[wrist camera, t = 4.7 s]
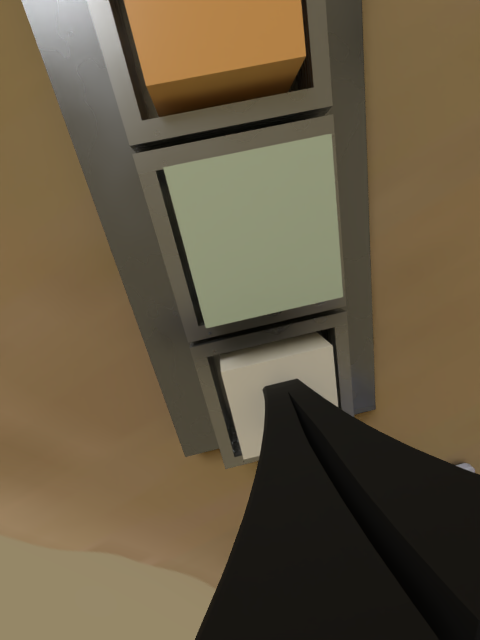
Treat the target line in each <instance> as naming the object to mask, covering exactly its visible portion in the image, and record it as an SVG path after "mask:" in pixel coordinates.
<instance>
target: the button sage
mask: <svg viewBox="0 0 480 640" xmlns="http://www.w3.org/2000/svg"><path fill="white" fill-rule="evenodd" d="M163 169H164V173H165V176H166V180H167V184H168V188H169V191H170V195H171V199H172V203H173V206H174V210H175V214H176V218H177V221H178V225H179V229H180V233H181V237H182V240H183V244H184V248H185V252H186V255H187V259H188V263H189V267H190V270H191V274H192V278H193V282H194V285H195V289H196V293H197V297H198V300H199V304H200V308H201V312H202V316H203V319H204V323H205V327H206V328H210V327H215V326H219V325H223V324H228V323H232V322H236V321H241V320H245V319H249V318H254V317H258V316H262V315H267V314H271V313H275V312H280V311H284V310H288V309H293V308H297V307H302V306H306V305H310V304H315V303H319V302H323V301H328V300H332V299H336V298H341V297H343V287H342V273H341V259H340V245H339V231H338V217H337V203H336V189H335V175H334V161H333V147H332V133H331V134H326V135H321V136H317V137H312V138H307V139H302V140H297V141H292V142H287V143H282V144H277V145H272V146H267V147H262V148H257V149H252V150H247V151H242V152H237V153H232V154H227V155H222V156H217V157H212V158H207V159H202V160H198V161H193V162H188V163H183V164H178V165H173V166H168V167H163Z"/></svg>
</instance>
